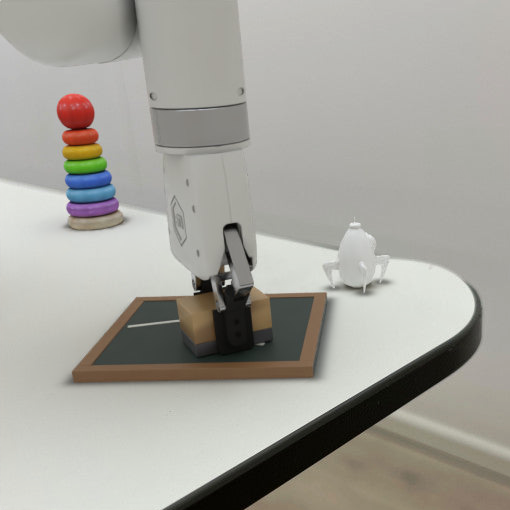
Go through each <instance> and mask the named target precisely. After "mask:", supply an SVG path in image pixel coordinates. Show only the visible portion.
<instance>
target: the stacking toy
mask: <svg viewBox="0 0 510 510" xmlns="http://www.w3.org/2000/svg"><path fill="white" fill-rule="evenodd" d="M95 114H96V113H95V107H94V105H93V103H92V102H91V100H90V99H88V97H86V96H85V95H82V94H79V93H68V94H65V95H64V96H62V97H61V98H60V99H59V101H58V102H57V105H56V115H57V118H58V120H59V123H61V125H62V126H63V127H65V128H66V129H67V130H64V131H63V132H62V134H61V139H62V142H63V143H64V144H65V146H64V147H63V148H62V150H61V153H62V157H64V159H66V160H65V161H64V162H63V169H64V171H65V172H66V173H67V174H66V175H65V177H64V182H65V185H66V186H67V189H66V191H65V195H66V199H68V202H67V203H66V205H65V206H66V207H65V210H66V212H67V213H68V214H69V216H68V217H67V225H68V226H69V227H70V228H71V229H73V230H77V231H78V230H79V231H93V230H94V231H95V230H102V229H107V228H111V227H115V226H118V225H120V224H121V223H122V222H123V221H124V214H123V212H122V211H121V210H120V209H119V207H120V201H119V199H118V198H116V197H115V196H116V193H117V191H116V187H115V185H114V184H112V180H113V176H112V173H111V172H110V171H109V170H107V167H108V162H107V160H106V158H105V157H103V156H102V155H103V147H102V146H101V145H100V143H98V141H99V137H100V136H99V134H100V133H99V132H98V130H96V129H95V128H92V127H91V126H92V125H93V122H94V120H95Z"/></svg>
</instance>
